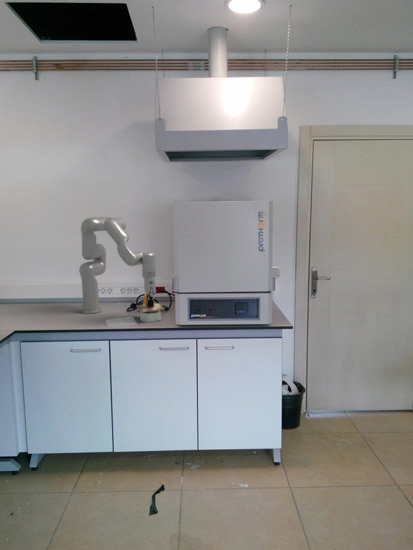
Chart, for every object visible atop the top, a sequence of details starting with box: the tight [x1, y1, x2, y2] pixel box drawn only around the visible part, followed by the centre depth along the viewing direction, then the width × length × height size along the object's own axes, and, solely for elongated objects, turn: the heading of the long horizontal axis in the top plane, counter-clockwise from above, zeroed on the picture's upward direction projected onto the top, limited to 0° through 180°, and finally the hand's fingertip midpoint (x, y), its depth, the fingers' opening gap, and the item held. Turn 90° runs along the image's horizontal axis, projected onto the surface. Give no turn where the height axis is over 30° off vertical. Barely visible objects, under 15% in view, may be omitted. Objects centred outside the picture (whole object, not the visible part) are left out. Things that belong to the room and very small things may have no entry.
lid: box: [135, 298, 165, 313], centre depth 222 cm, size 14×14×6 cm
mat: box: [104, 316, 138, 328], centre depth 218 cm, size 16×16×1 cm
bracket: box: [142, 292, 155, 305], centre depth 239 cm, size 11×7×12 cm, turn 166°
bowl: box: [139, 310, 162, 323], centre depth 223 cm, size 11×11×6 cm
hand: (149, 305), depth 222 cm, fingers closed on lid, 3 cm apart
